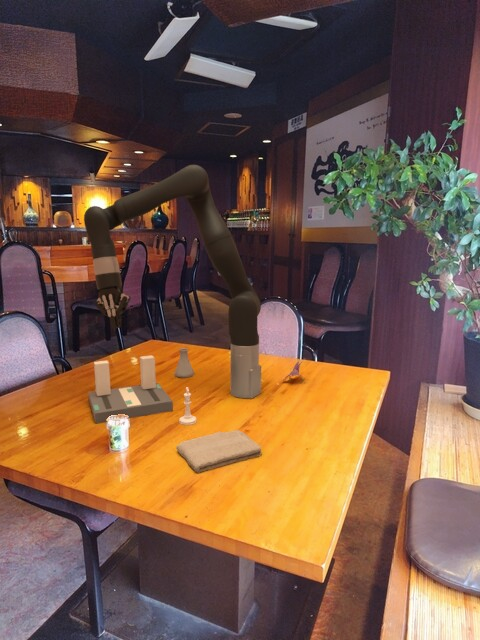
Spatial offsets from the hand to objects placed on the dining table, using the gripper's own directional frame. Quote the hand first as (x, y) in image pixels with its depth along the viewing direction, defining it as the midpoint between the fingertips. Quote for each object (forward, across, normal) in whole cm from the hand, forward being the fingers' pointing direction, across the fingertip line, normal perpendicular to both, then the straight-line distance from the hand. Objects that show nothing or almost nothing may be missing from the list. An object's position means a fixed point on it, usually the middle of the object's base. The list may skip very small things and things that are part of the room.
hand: (116, 328), depth 134 cm
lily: (+29, -43, -38) cm, 65 cm away
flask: (+22, -4, -29) cm, 37 cm away
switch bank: (+24, -2, +3) cm, 24 cm away
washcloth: (+33, -39, +19) cm, 55 cm away
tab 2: (+20, -4, -5) cm, 22 cm away
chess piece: (+28, -24, +6) cm, 38 cm away
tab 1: (+19, +5, +5) cm, 21 cm away
